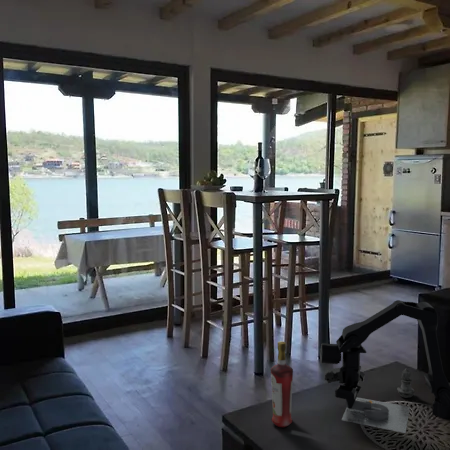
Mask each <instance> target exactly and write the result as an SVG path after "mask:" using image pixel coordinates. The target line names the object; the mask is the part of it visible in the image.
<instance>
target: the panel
mask: <svg viewBox="0 0 450 450" xmlns="http://www.w3.org/2000/svg"><path fill="white" fill-rule="evenodd" d="M356 399H359V400H363V401H368V402H371V403H376V404H381V405H383V406H385V407H387V408H388V410H389V417H388V419H386V420H383V421H375V420H371V419H369V418H367V417H366V416H365V415H364V411H359V410H355V409H350V408H346V407H345V411H344V413H343V415H342V418H341V421H343V422H349V423H354V424H359V425H364V426H369V427H372V428H373V427H374V428H379V429H383V430H388V431H392V432H393V431H394V432H397V433H402V434H403V433H404V434H407V426H408V422H409V421H408V420H409V415H410V409H411V407H410V406H406V405H401V404H397V403H396V404H395V403H390V402H384V401H378V400H373V399H367V398H362V397H358V396H357V398H356Z"/></svg>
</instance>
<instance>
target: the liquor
mask: <svg viewBox="0 0 450 450" xmlns="http://www.w3.org/2000/svg"><path fill="white" fill-rule="evenodd" d="M286 344H287V342H285V341H283V340H282V341H281V340H280V341H277V351H278V353H277V361H276V364H274V365H273V366H272V367H270V383H271V385H270V387H271V400H272V401H271V402H272V417H271V422H272V423H273V424H274V425H275V426H276V427H277V428H287V427H289V425H290V424H292V423H293V418H292V399H293V397H292V396H293V380H294V369H293V368H292V367H291V366H290V365H288V364H287V359H286V347H287V345H286Z"/></svg>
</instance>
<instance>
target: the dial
mask: <svg viewBox="0 0 450 450" xmlns="http://www.w3.org/2000/svg"><path fill="white" fill-rule="evenodd" d="M346 408H348V405H347V401H346V400H345V409H346ZM352 409H355V410H359V411H364V415H365V416H366V417H367V418H369V419H371V420H375V421H383V420H386V419H388V417H389V410H388V408H387V407H385V406H383V405H381V404H376V403H371V402H368V401H363V400H359V399H356V400H355V402H354V404H353V407H352Z"/></svg>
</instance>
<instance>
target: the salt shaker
mask: <svg viewBox="0 0 450 450" xmlns="http://www.w3.org/2000/svg"><path fill="white" fill-rule="evenodd" d="M411 376H412V375H411V371H410V370H409V369H408V368H407V367H406V368H405V369H403V370H402V371H401V378H400V381H401V385H400V386H398V387H397V391H398V394H399V396H400V397H402V398H406V399H410V398H412V397H413V395H414V393H415V389H414V388H413V387H411V382H412V379H411Z"/></svg>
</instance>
